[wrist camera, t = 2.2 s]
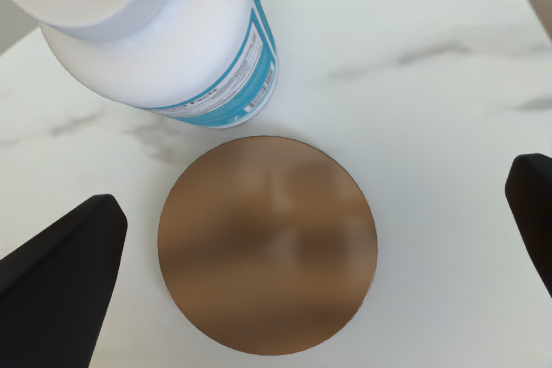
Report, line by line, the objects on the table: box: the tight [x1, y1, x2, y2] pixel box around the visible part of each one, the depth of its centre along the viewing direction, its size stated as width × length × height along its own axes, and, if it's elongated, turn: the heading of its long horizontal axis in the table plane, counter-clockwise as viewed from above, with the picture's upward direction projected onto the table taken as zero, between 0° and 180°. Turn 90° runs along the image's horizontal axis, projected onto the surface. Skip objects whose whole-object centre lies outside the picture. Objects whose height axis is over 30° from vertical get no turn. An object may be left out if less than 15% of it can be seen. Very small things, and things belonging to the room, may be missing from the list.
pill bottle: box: [12, 0, 278, 129], centre depth 15 cm, size 8×7×14 cm
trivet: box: [158, 136, 378, 355], centre depth 22 cm, size 14×14×1 cm
